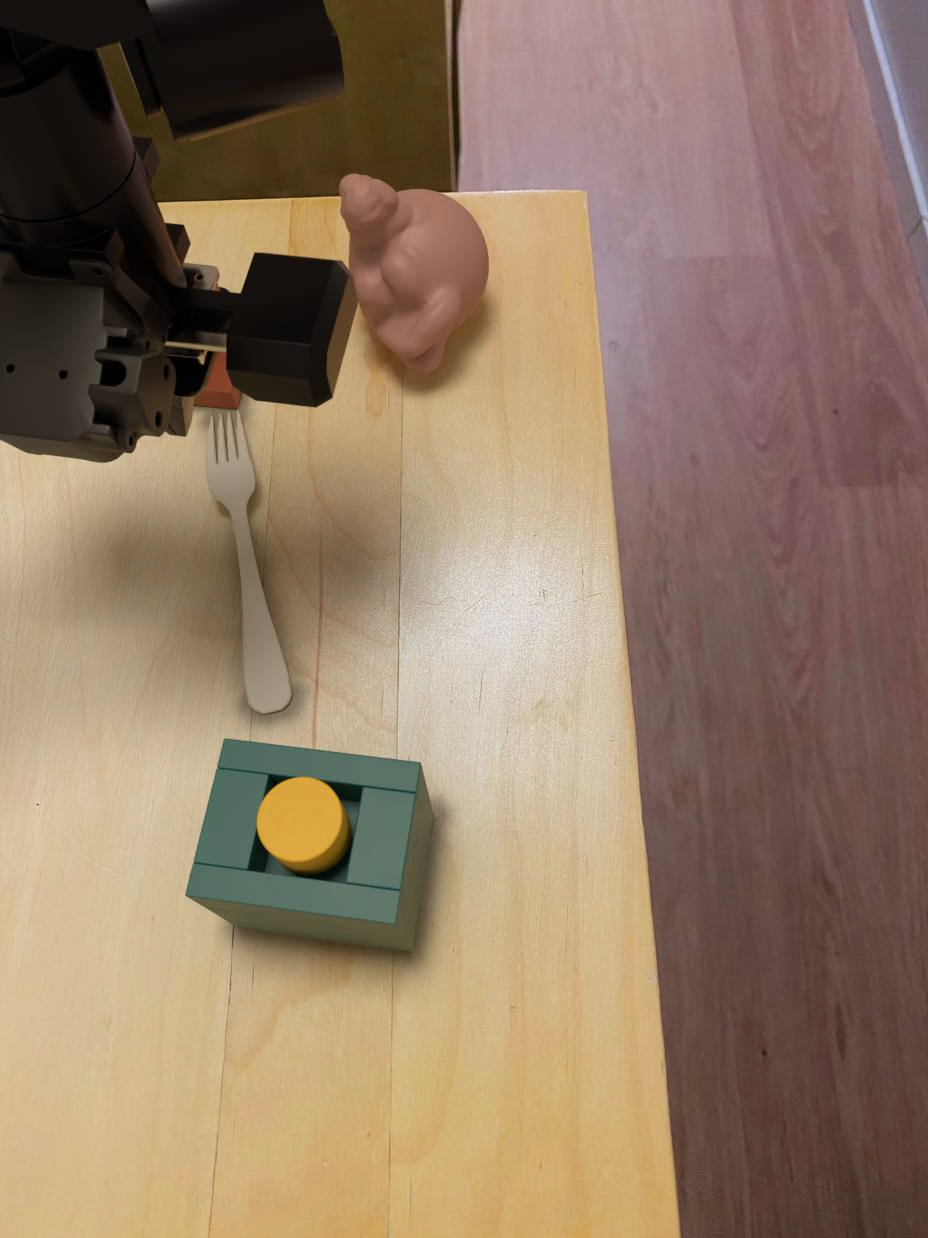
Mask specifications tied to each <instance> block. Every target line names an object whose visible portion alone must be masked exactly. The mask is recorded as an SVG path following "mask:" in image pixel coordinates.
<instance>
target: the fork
mask: <svg viewBox="0 0 928 1238" xmlns="http://www.w3.org/2000/svg"><path fill="white" fill-rule="evenodd" d="M231 416H232V415H231V412H230V411H228V412H227V420H226V441H225V430H224V418H223V413H219V418H218V419H219V420H218V428H217V453H216V439H215V426H214V425H215V424H214V423H215V422H214V415H211V416H210V418H209V419H210V420H209V424H208V431H207V438H206V447H205V448H206V449H205V476H206V477H205V478H206V483H207V486H208V491H209V493H210V495H211V496H212V498H213V499H214V500H216V501H217V502H219V503H221V504H222V505H223V506H224V507H225V508H226V509H227V510H228V511H229V514H230V517H231V522H232V526H233V531H234V536H235V542H236V550H237V551H236V552H237V559H238V567H239V575H240V576H239V577H240V587H241V588H240V589H241V590H240V591H241V606H242V607H241V608H242V661H243V663H242V664H243V682H244V688H245V692H246V699H247V703H248V704H247V705H248V706H249V707H250V708H252V710H253V711H255V712H257V713H260V714H262V715H267V714H271V713H275V712H279V711H283V710H284V709H285V708H286V706H287V705H288V704H289V703H290V701H291V698H292V695H293V692H292V687H291V682H290V677H289V672H288V667H287V664H286V661H285V657H284V654H283V651H282V648H281V645H280V641H279V638H278V635H277V631H276V629H275V626H274V622H273V620H272V617H271V614H270V611H269V608H268V603H267V601H266V596H265V594H264V593H265V592H264V589H263V586H262V581H261V578H260V573H259V569H258V564H257V560H256V555H255V550H254V545H253V541H252V540H253V539H252V535H251V531H250V530H251V529H250V526H249V525H250V524H249V519H248V512H247V504H248V502H249V500H250V497H251V495H252V494H253V493H254V491H255V487H256V477H255V472H254V466H253V463H252V459H251V456H250V452H249V448H248V444H247V439H246V435H245V429H244V426H243V421H242V418H241V413H240V410H238V409H236V443H235V435H234V429H233V423H232V417H231ZM226 443H227V444H226ZM236 444H237V448H236ZM226 445H227V446H226ZM226 447H227V449H226ZM226 450H227V451H226ZM237 452H238V453H237ZM227 458H228V459H227Z"/></svg>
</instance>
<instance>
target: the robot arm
mask: <svg viewBox="0 0 928 1238" xmlns="http://www.w3.org/2000/svg"><path fill="white" fill-rule="evenodd" d="M115 44H118V46H119V49H120V52H121V54H122V56H123V59H124V63H125V65H126V67H127V70H128V73H129V75H130V78H131V81H132V83H133V86H134V89H135V91H136V94H137V97H138V99H139V102H140V104H141V108H142V110H143V112H144V115H145V117H146V120H150V119H154V118H156V117H160V116H162V112H163V114H164V116H165V119H166V122H167V125H168V128H169V131H170V133H171V135H172V139H173V141H174V143H175V144H177V143H181V142H184V141H187V140H188V142H189V143H191V142H194V141H197V140H201V139H205V138H208V137H211V136H215V135H218V134H222V133H225V132H228V131H232V130H235V129H239V128H242V127H245V126H248V125H252V124H255V123H259V122H262V121H265V120H269V119H273V118H276V117H279V116H282V115H286V114H289V113H293V112H297V111H299V110H303V109H306V108H309V107H313V106H316V105H320V104H323V103H326V102H330V101H334V100H337V99H340V98H341V97H343V96H344V92H345V73H344V72H345V71H344V63H343V56H342V50H341V49H342V48H341V45H340V38H339V36H338V33H337V31H336V28H335V26H334V25H333V22H332V21H331V19H330V17H329V16H328V13H327V9H326V6H325V2H324V0H0V441H1V442H3V443H5V444H7V445H10V446H11V447H14V448H16V449H18V450H20V451H22V452H24V453H27V454H31V455H37V456H51V457H61V458H68V459H74V460H75V459H76V460H84V461H87V462H92V463H99V464H107V463H111V462H113V461H116V460H118V459H119V458H120V457H121V456H123V455H124V454H133V453H134V452H135V450H136V448H137V445H138V441H139V440H140V439H141V438H142V437H144V436H147V437H154V438H155V437H156V438H160V437H161V436H163V435H164V434H165V433H167V434H168V435H169V436H172V437H173V436H174V437H181V438H186V437H188V434H189V431H190V427H191V425H192V421H193V413H194V406H195V405H194V399H195V396H197V395H199V394H200V393H202V392H203V390H204V389H205V388H206V386H207V384H208V381H209V378H210V375H211V372H212V369H213V366H214V363H215V360H216V357H217V354H218V352H225V353H226V371H227V373H228V376H229V379H230V381H231V384H232V386H233V387H234V388H236V389H238V390H239V391H241V392H242V393H241V394H244V395H245V396H247V397H249V398H250V399H252V400H253V401H256V402H265V403H273V404H281V405H290V406H299V407H305V408H306V407H307V408H316V409H317V408H319V407H320V406H322V405H323V404H325V403H327V402H329V401H331V400H332V399H333V397H334V393H335V391H336V387H337V383H338V379H339V375H340V371H341V368H342V365H343V361H344V357H345V353H346V350H347V346H348V342H349V339H350V335H351V331H352V327H353V324H354V320H355V316H356V313H357V309H358V305H359V303H358V301H357V295H356V289H355V284H354V278H353V275H352V274H351V272H350V271H349V267H348V266H347V265H346V264H345V262H344V261H343V260H339V259H330V258H320V257H310V256H301V255H292V254H290V255H289V254H283V253H271V252H262V251H261V252H257V251H254V253H253V255H252V258H251V262H250V264H249V266H248V270H247V273H246V276H245V279H244V282H243V285H242V288H241V291H240V292H234V291H233V292H231V291H229V289H227V288H226V287H223V286H219V280H220V271H219V268H218V267H217V266H215V265H209V264H200V263H192V262H191V263H190V262H185V260H186V258H187V255H188V252H189V249H190V248H191V245H192V243H191V240H190V238H189V234H188V231H187V228H186V227H185V224H181V223H173V222H165V219H164V216H163V213H162V211H161V209H160V206H159V204H158V201H157V198H156V196H155V193H154V190H153V188H152V183H153V180H154V178H155V176H156V173H157V171H158V168H159V166H160V164H161V156H160V154H159V152H158V149H157V147H156V143H155V141H154V138H153V137H150V136H149V137H148V136H137V135H132V133H131V131H130V128H129V125H128V123H127V120H126V118H125V117H126V116H125V115H124V113H123V110H122V107H121V105H120V102H119V100H118V97H117V94H116V92H115V89H114V86H113V84H112V83H113V82H112V81H111V79H110V75H109V73H108V71H107V67H106V65H105V63H104V61H103V58H102V55H101V52H100V50H99V49H101V48H105V47H108V46H111V45H115Z"/></svg>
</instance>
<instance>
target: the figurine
mask: <svg viewBox="0 0 928 1238" xmlns="http://www.w3.org/2000/svg"><path fill="white" fill-rule="evenodd" d="M338 193H339V197H340V200H341V201H340V210H339V212H340V213H339V214H340V216H341V218H342V219H343V221H344V224H345V227H346V230H347V232H348V233H349V240H348V251H349V252H348V270H349V271H350V272H351V274H352V275H353V278H354V284H355V289H356V295H357V301H358V305H359V308H360V310H361V313H362V315H363V317H364V319H365V320H366V321H367V324H369V326H370V327H371V329H372V331H373V332H374V334H375V335H376V337H377V338H378V340H379V341H380V342H381V343H382V344H383V345H384V346H385V347H387V349H388V350H390V351H391V352H392V353H393V354H395V355H397V356H398V358H399V359H400V360H401V361H402V363H403V364H404V365H406V367H407V368H408V369H409V370H410V371H412V372H413V373H415V374H427V373H431V372H432V371H435V370H437V368H439V366H440V365H441V363H442V360H443V357H444V349H445V346H446V344H447V341H448V339H449V337H450V334H451V333H453V332H454V331H456V330H457V329H458V328H459V327H460V326H461V325H462V324H463V323H464V322H465V321H467V320H468V318H469V317H470V316H471V315H472V314H473V312H474V311H475V309H476V308H477V307H478V305H479V304H480V303H481V300H482V298H483V295H484V293H485V291H486V288H487V284H488V279H489V272H490V258H489V250H488V245H487V242H486V239H485V236H484V233H483V231H482V229H481V227H480V226H479V224H478V222H477V220H476V218H474V216H473V215H472V214H471V212H470V211H468V209H466V208H465V206H463V205H462V204H461V203H459V202H458V201H457V200H456V199H454V198H453V197H452V196H451V197H450V196H448V195H447V194H444V193H442V192H439V191H436V190H432V189H425V188H410V189H404V190H400V191H397V192H396V190H395V189H394V187H392V186H391V185H389V184H388V183H386V182H384V180H383V181H382V180H381V179H379V178H372V177H371V176H369V175H366V174H359V173H350V174H347V175H345V176H344V177H343V178H341V180H340V182H339V187H338Z"/></svg>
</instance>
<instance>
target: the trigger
mask: <svg viewBox="0 0 928 1238" xmlns="http://www.w3.org/2000/svg"><path fill="white" fill-rule="evenodd" d="M257 831H258V835H259V838H260V840H261V842H262V844H263V846H264V847H265V848H266V849H267V850H268V851H269V852H270V853H271V854H272V856H273V857H274V858H275V859H276V860H277V861H278V862H279V863H280V864H281V865H283V866H284V867H285V868H286V869H288V870H290V871H292V872H294V873H297V874H302V875H314V874H319V873H322V872H324V871H326V870H328V869H330V868H332V867H333V866H334V865H336V864H337V863H338V862H339V861H340V860H341V859H342V857H343V856H344V854H345V853H346V851H347V849H348V846H349V844H350V840H351V823H350V820H349V817H348V814H347V812H346V811H345V809H344V807H343V805H342V803H341V802H340V800H339V798H338V796H337V795H336V793H335V792H334V791H333V790H332V788H330V787H329V786H328V785H327V784H325V783H324V782H322V781H320V780H318V779H315V778H310V777H296V778H291V779H288V780H285V781H283V782H281V783H280V784H278V785H276V786H275V787H274V788H273V789H271V791H270V792H269V793H268V794H267V795H266V796H265V798H264V799H263V801H262V803H261V805H260V807H259V810H258V814H257Z"/></svg>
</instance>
